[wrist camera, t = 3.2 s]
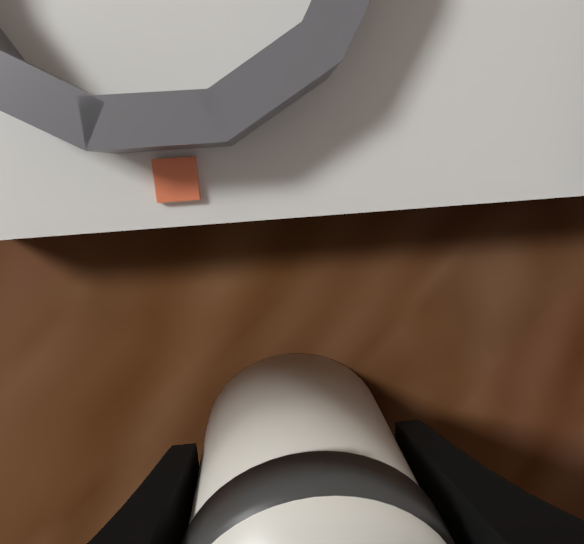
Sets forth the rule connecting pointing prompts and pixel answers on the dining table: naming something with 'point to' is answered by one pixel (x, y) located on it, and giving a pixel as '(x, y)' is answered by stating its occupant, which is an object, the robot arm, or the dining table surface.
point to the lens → (305, 463)
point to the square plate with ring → (282, 109)
